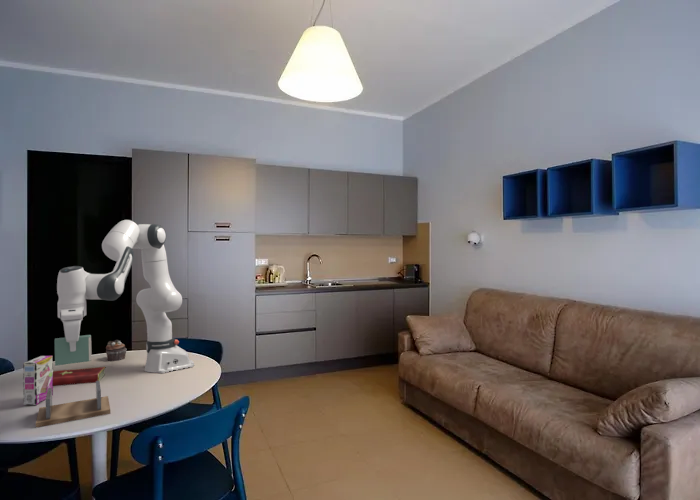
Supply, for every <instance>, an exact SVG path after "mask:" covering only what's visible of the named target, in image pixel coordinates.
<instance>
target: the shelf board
mask: <svg viewBox="0 0 700 500" xmlns="http://www.w3.org/2000/svg"><path fill="white" fill-rule="evenodd" d="M110 414H111V405H110V400H109V395H105V396H101V410H97V401H96V397H94V398H89V399H83V400H77V401H72V402H71V401H70V402H65V403H59V404H52V412H51V418H50V419H48V420H46V406H41V407H39V408H38V412H37V415H36V420H35V428H36V427H37V428H40V427H48V426H51V425H52V426H53V425H58V424H63V423H68V422H71V421H78V420H83V419H84V420H85V419H89V418H95V417H99V416H104V415H105V416H106V415H110Z"/></svg>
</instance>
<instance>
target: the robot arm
mask: <svg viewBox="0 0 700 500" xmlns="http://www.w3.org/2000/svg"><path fill="white" fill-rule="evenodd" d="M166 239H167V233H166V230H165V228H164V227H163V226H162V225H160V224H156V223H150V224H149V223H148V224H147V223H143V224H142V223H139V224H137V223H136V222H134V221H133V220H131V219H124V220H121V221H119V222H117V224H115V225H114V226H113V227H112V228H111V229H110V231H109V232H108V233H107V234H106V236H105V237H104V239H103V240H102V243H101V249H102V252H103V253H104V255H105V256H106V257H107V258H109V259H110V260H112V261H115V262H116V263H115V266H114V267H113V269H112V271H111V272H108V273H91V272H87V271H85V270H84V267H83V266H79V265H73V266H67V267H63V268H61V269H60V270H59V272H58V275H57V279H56V280H57V283H56V291H57V292H56V294H57V296H58V300H57V318H58V319H60V321H61V322H62V324H63V331H64V332H63V333H64V337H65V338H66V342H69V344H70V351H71V352H72V351H76V341H78V340H79V336H80V332H81V324H82V321H83V320H84V319H83V318H84V317H85V316H87V300H102V301H113V302H114V301H116V300H118V299H119V298H120V297H121V295H122V294H123V293H124V290H125V283H126V281H127V277H128V276H129V273H130V271H131V268H132V265H133V262H134V259H135V251H134V250H137V249H138V250H141V252H140V253H141V254H140V255H141V264H142V274H143V279H145V281H146V282H147V283H148V284H149V286H150V287H148V288H144V289H141V290H140V291H138V292H137V294H136V299H135V302H136V304H137V306H138V307H139V308H140V309H141V312H142V314H143V316H144V319H145V323H146V333H147V339H146V344H145V346H146V347H145V348H146V362H145V366H144V370H143V371H145V372H146V373H147V372H148V373H158V374H166V373H170V372H169V371H171V372H174V371H173V370H176V371H179V370H178V369H181V370H183V369H182V368H185V369H189V368H188V367H190V368H193V367H194V366H195V363H194V362H195V361H194V360H192V359H190V357H189V353H188V351H186V350H185V349H183V348H181V347H180V346H178V345H179V343H180V341H179V340H178V339H176V338H174V337H173V324H172V323H173V322H172V321H171V319H170V318H169V317H168V316H167V313H169V312H171V313H172V312H176V311H177V310H179V309H180V308H181V306H182V304H183V296H182V294H181V293H180V292H179V291H178V290H177V289H176V287H175V285H174V283H173V282H172V279H171V276H170V272H169V266H168V265H169V264H168V256H167V251H166V247H165V245H164V244H166V243H165V242H166ZM165 372H166V373H165Z"/></svg>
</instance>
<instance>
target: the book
mask: <svg viewBox="0 0 700 500" xmlns="http://www.w3.org/2000/svg"><path fill="white" fill-rule="evenodd" d="M92 358H93V357H92V335H91V334H85V335H79V340H78V341H76V351H72V352H71V351H70V344H69V342H66V338H65V336H64V337H59V338H58V337H57V338H56V337H55V338H54V366H63V365H71V364H79V363H87V362H92Z"/></svg>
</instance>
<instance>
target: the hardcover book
mask: <svg viewBox="0 0 700 500" xmlns="http://www.w3.org/2000/svg"><path fill="white" fill-rule="evenodd" d="M105 369H106V366H100V367H87V368H86V367H85V368H74V369H73V368H72V369H62V370H53V387H59V386H70V385H81V384H82V385H83V384H93V383H95V384H96V381H101V380H102V378H103V377H104V376H105Z"/></svg>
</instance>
